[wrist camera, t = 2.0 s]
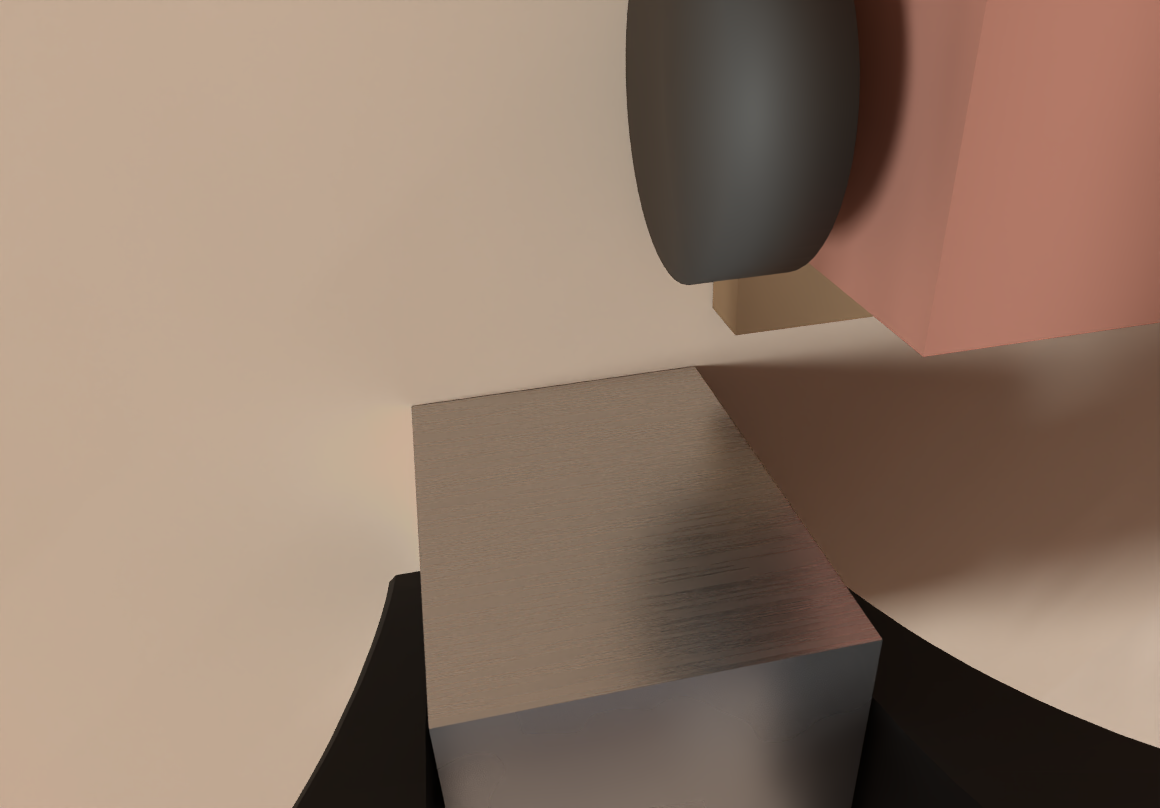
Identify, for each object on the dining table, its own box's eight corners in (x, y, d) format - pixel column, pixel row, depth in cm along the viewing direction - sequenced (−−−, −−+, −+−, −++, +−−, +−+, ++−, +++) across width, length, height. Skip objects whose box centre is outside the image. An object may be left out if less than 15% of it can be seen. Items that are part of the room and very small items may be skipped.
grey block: (694, 366, 13) (881, 639, 8) (688, 636, 17) (823, 956, 11) (411, 405, 13) (428, 728, 8) (459, 678, 16) (495, 1039, 11)
